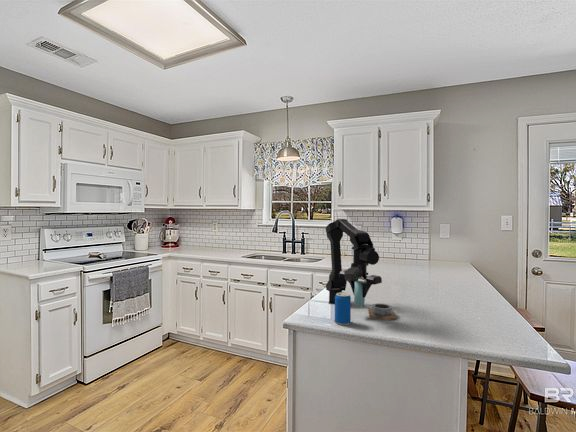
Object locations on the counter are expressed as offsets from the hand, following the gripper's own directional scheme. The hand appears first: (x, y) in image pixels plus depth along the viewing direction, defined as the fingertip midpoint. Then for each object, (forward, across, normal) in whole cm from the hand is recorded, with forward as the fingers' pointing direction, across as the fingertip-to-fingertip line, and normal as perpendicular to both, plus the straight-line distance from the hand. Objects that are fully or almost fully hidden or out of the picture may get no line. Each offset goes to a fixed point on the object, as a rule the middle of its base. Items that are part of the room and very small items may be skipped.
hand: (359, 296), depth 142 cm
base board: (+9, +5, +10) cm, 14 cm away
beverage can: (+9, 0, -11) cm, 15 cm away
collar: (+9, +5, +10) cm, 14 cm away
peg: (+4, 0, 0) cm, 4 cm away
